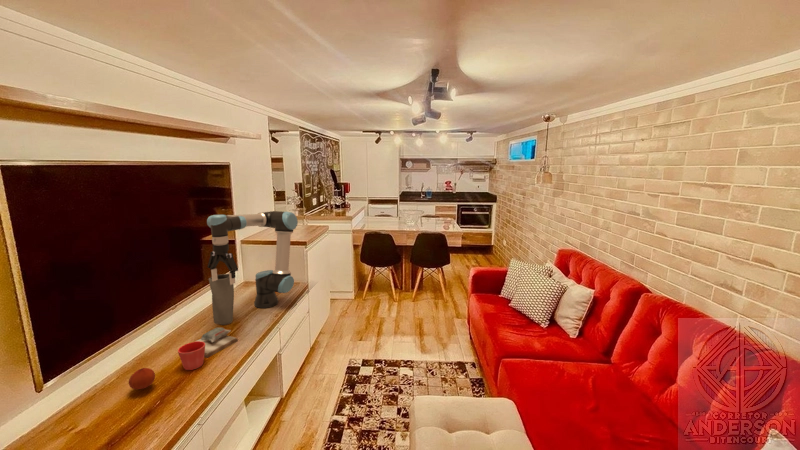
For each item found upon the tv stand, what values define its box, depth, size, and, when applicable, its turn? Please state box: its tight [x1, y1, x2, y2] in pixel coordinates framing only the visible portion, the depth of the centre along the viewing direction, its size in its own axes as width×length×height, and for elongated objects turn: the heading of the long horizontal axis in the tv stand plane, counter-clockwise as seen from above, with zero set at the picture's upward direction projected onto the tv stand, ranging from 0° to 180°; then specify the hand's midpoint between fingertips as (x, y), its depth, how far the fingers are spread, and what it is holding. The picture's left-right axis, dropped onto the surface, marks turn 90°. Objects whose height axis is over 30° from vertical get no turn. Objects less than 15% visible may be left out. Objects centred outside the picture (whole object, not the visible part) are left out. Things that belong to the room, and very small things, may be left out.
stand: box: [194, 334, 238, 358], centre depth 171 cm, size 18×18×2 cm
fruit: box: [128, 367, 156, 390], centre depth 137 cm, size 9×9×8 cm
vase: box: [208, 273, 235, 326], centre depth 195 cm, size 12×12×30 cm
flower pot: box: [177, 340, 205, 371], centre depth 153 cm, size 11×11×10 cm
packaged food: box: [200, 327, 232, 342], centre depth 174 cm, size 9×12×5 cm
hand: (223, 282), depth 174 cm, fingers open, 13 cm apart
